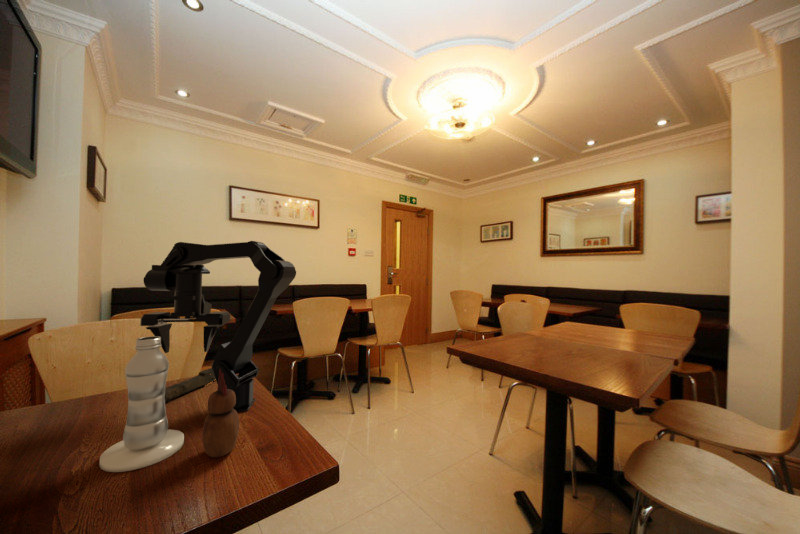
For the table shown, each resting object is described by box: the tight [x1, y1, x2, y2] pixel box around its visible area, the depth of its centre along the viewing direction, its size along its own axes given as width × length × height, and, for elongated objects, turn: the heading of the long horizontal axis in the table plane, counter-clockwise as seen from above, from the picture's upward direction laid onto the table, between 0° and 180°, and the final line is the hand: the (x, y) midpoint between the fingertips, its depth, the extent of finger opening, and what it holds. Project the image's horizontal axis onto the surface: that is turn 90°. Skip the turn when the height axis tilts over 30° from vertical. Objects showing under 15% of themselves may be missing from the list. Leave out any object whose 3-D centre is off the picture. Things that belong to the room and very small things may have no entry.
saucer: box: [99, 428, 185, 473], centre depth 57 cm, size 12×12×1 cm
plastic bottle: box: [122, 335, 170, 450], centre depth 57 cm, size 6×7×20 cm
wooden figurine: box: [202, 369, 240, 458], centre depth 57 cm, size 7×6×15 cm
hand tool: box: [165, 367, 216, 403], centre depth 86 cm, size 19×4×5 cm, turn 165°
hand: (186, 352), depth 78 cm, fingers open, 9 cm apart
